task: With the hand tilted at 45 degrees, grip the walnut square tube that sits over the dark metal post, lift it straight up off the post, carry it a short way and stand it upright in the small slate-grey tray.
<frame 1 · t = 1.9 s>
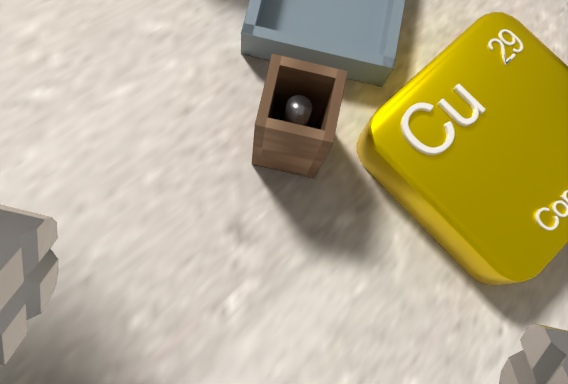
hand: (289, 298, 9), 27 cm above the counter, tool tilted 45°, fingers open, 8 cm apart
metal post: (289, 141, 38), on the counter
element tile: (480, 156, 40), on the counter
slate tray: (324, 13, 41), on the counter
walnut tube: (289, 141, 38), on the counter
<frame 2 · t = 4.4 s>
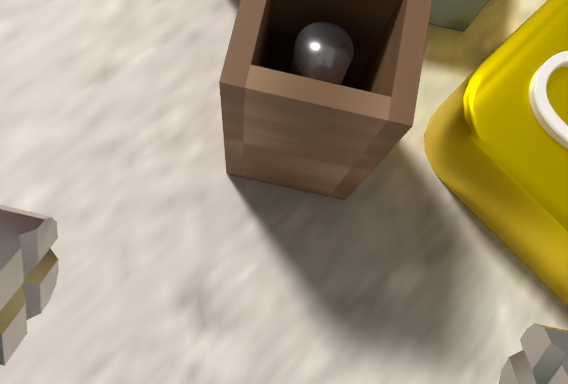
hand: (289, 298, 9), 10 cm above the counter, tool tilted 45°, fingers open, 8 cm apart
metal post: (297, 130, 20), on the counter
walnut tube: (297, 130, 20), on the counter
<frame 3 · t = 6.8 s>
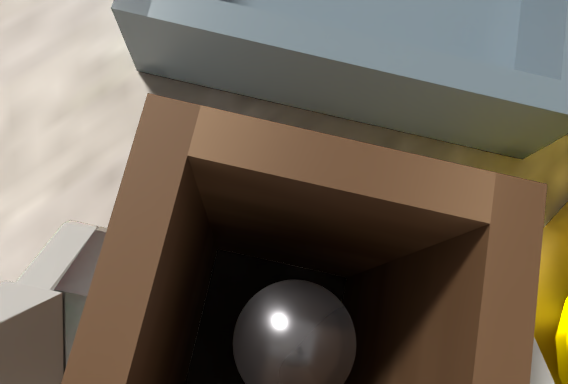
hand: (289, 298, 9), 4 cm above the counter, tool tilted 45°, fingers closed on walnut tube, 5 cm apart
metal post: (268, 330, 13), on the counter
walnut tube: (268, 330, 13), on the counter, touching gripper
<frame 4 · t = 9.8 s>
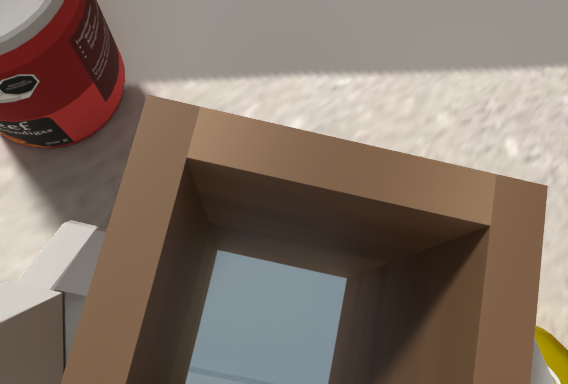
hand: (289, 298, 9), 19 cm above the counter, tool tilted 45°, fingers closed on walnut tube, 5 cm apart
canned food: (58, 89, 30), on the counter
slate tray: (257, 293, 28), on the counter
walnut tube: (268, 331, 13), point 15 cm above the counter, touching gripper
when the fingers open (6 cm above the counter, at t = 12.9 s): walnut tube drops 1 cm, resting on slate tray.
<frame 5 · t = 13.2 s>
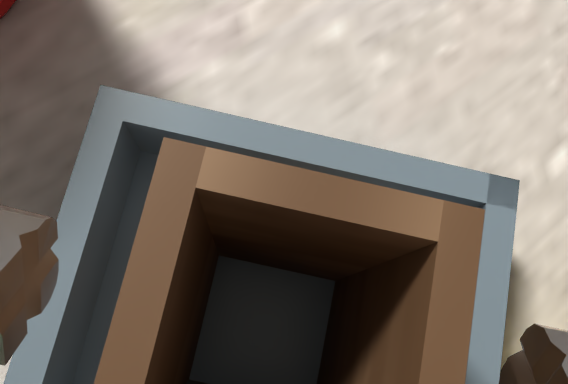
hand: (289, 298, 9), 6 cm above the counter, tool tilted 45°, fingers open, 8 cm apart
slate tray: (265, 328, 15), on the counter
walnut tube: (264, 328, 14), point 1 cm above the counter, touching slate tray
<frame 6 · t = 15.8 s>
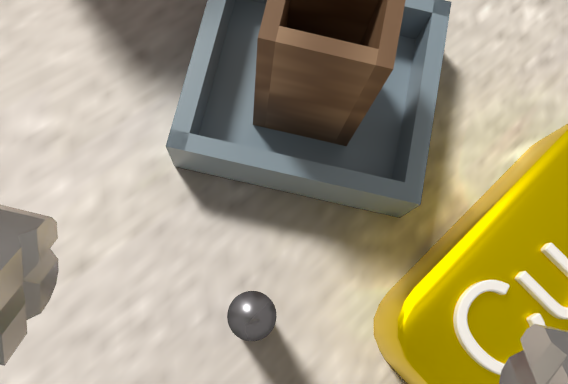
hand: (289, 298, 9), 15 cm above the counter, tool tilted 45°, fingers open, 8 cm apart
metal post: (249, 316, 23), on the counter
slate tray: (308, 97, 26), on the counter
walnut tube: (309, 92, 26), point 1 cm above the counter, touching slate tray
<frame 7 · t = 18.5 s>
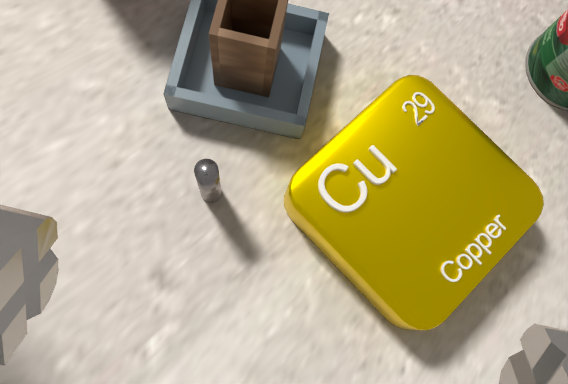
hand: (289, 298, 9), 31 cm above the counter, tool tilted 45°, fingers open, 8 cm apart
canned tomato: (566, 70, 47), on the counter
metal post: (211, 192, 41), on the counter
element tile: (400, 206, 43), on the counter
slate tray: (248, 69, 44), on the counter
walnut tube: (247, 66, 43), point 1 cm above the counter, touching slate tray
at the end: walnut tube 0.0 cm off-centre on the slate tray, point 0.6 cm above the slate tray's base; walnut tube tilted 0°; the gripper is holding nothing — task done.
